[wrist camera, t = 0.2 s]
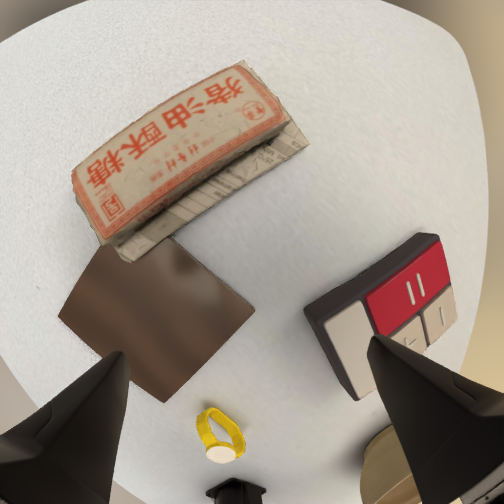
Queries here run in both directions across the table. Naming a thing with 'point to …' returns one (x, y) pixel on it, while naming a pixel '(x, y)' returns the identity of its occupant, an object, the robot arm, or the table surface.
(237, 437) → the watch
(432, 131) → the table surface
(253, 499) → the robot arm
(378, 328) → the calculator
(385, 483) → the planter bowl
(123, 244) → the packaged product
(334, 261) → the table surface
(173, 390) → the coaster
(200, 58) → the table surface
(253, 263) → the table surface
